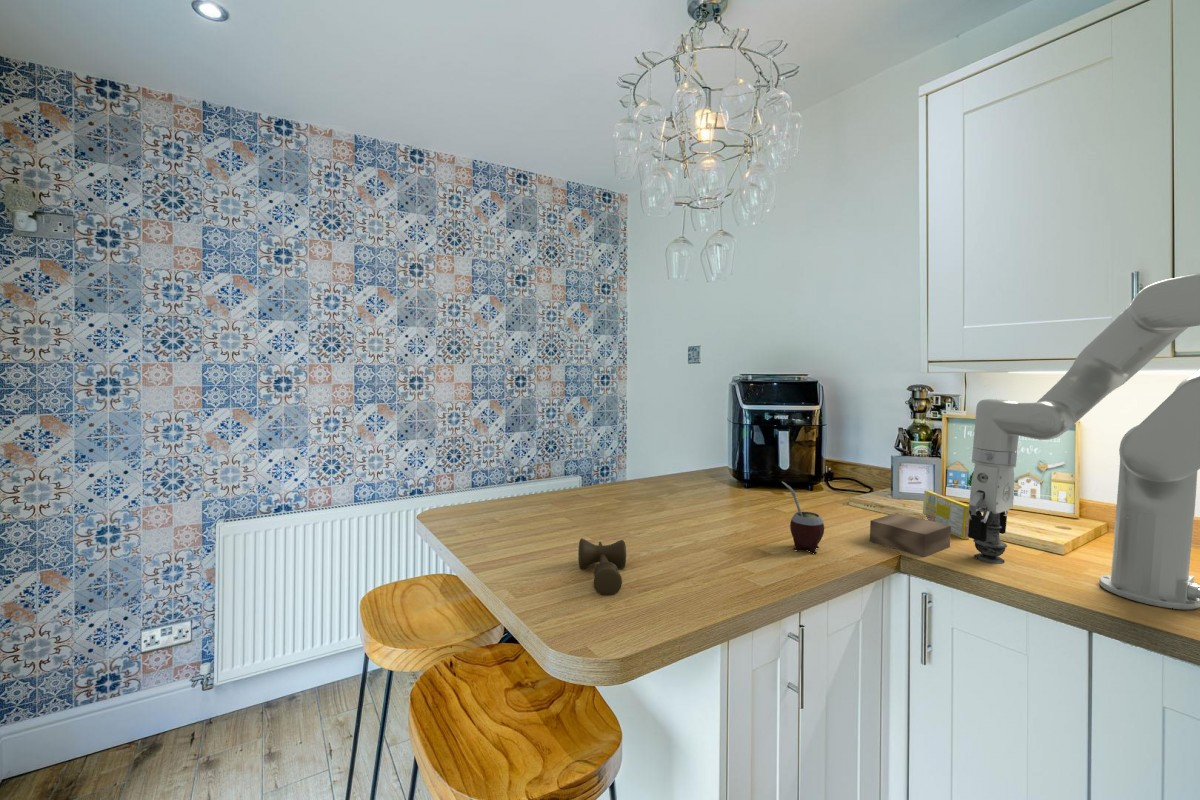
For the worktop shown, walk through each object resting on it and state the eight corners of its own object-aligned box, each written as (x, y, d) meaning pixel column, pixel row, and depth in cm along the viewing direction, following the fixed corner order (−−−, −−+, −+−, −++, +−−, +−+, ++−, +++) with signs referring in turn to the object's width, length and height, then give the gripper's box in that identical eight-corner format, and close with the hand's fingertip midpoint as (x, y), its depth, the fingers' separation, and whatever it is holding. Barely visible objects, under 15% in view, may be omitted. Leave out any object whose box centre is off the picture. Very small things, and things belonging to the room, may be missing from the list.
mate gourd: (830, 553, 113) (832, 486, 112) (799, 556, 111) (801, 488, 110) (808, 542, 120) (810, 479, 119) (778, 545, 118) (780, 480, 117)
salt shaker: (1012, 565, 107) (1015, 508, 106) (980, 562, 108) (983, 506, 108) (997, 555, 113) (1000, 501, 112) (967, 553, 114) (970, 499, 113)
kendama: (580, 600, 91) (577, 555, 111) (634, 600, 92) (621, 555, 112) (581, 567, 90) (578, 528, 110) (635, 567, 91) (622, 529, 111)
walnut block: (949, 547, 118) (950, 525, 117) (924, 557, 111) (925, 534, 111) (896, 532, 128) (896, 512, 127) (869, 541, 121) (870, 520, 121)
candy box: (971, 540, 123) (972, 506, 123) (962, 539, 123) (963, 506, 123) (929, 520, 139) (930, 489, 139) (921, 519, 139) (922, 489, 139)
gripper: (998, 464, 101) (990, 548, 103) (1031, 457, 111) (1023, 534, 112) (955, 457, 108) (948, 537, 109) (990, 451, 117) (983, 524, 119)
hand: (986, 535), depth 111 cm, fingers open, 9 cm apart
